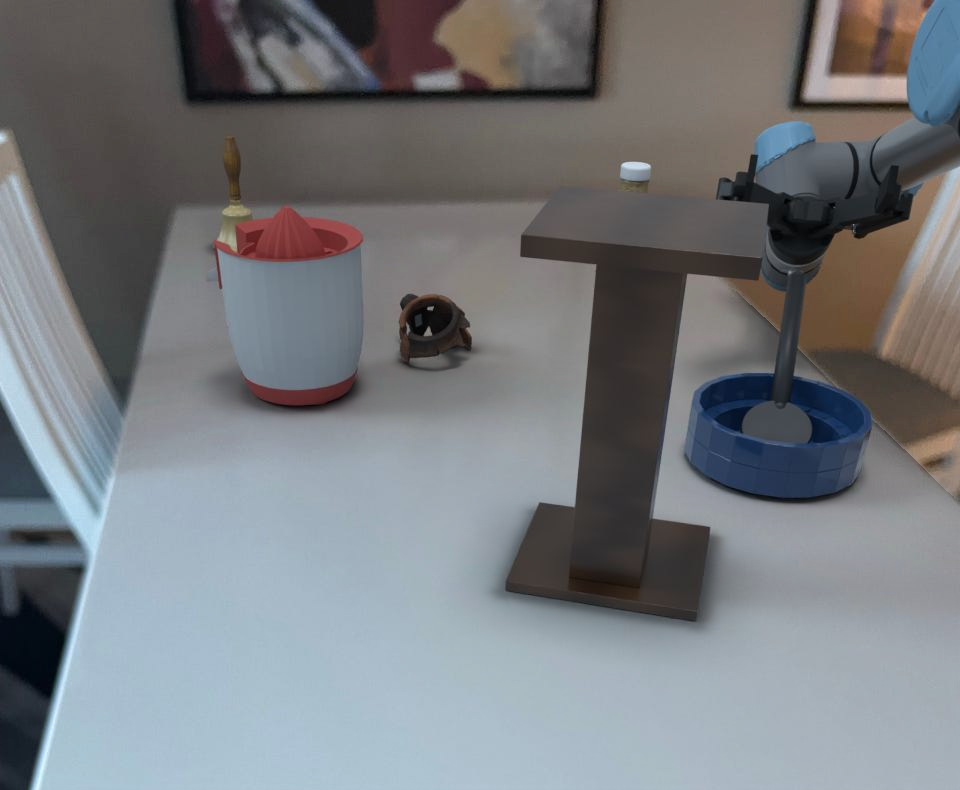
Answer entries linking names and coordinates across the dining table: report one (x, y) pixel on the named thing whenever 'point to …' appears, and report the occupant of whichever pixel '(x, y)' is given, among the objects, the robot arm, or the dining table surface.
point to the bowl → (773, 463)
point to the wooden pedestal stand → (630, 393)
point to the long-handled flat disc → (783, 379)
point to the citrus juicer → (294, 306)
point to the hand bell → (232, 195)
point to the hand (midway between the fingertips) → (821, 173)
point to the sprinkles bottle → (635, 177)
